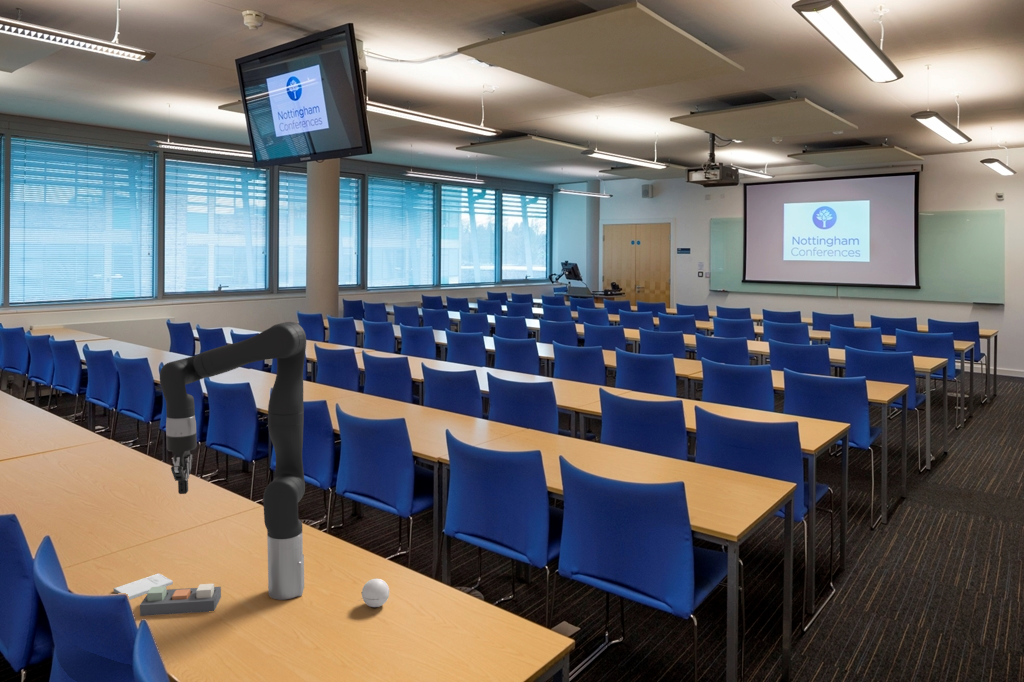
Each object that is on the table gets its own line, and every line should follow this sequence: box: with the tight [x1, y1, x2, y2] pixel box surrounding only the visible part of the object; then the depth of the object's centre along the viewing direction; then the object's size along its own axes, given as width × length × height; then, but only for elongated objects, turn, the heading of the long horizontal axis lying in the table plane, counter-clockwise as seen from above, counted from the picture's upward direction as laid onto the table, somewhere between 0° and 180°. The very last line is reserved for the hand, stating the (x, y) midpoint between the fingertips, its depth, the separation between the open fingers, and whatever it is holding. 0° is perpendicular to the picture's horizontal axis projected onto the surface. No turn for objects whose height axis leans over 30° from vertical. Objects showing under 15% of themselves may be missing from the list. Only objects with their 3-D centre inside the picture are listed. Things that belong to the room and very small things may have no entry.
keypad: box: [139, 586, 222, 617], centre depth 187 cm, size 18×8×3 cm, turn 100°
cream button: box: [196, 583, 215, 598], centre depth 188 cm, size 4×4×3 cm
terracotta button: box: [172, 588, 191, 600], centre depth 187 cm, size 4×4×3 cm
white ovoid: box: [359, 578, 390, 608], centre depth 188 cm, size 10×7×7 cm
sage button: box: [146, 586, 167, 601], centre depth 185 cm, size 4×4×3 cm
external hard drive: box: [113, 573, 174, 601], centre depth 197 cm, size 2×8×12 cm
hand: (183, 492), depth 195 cm, fingers closed
